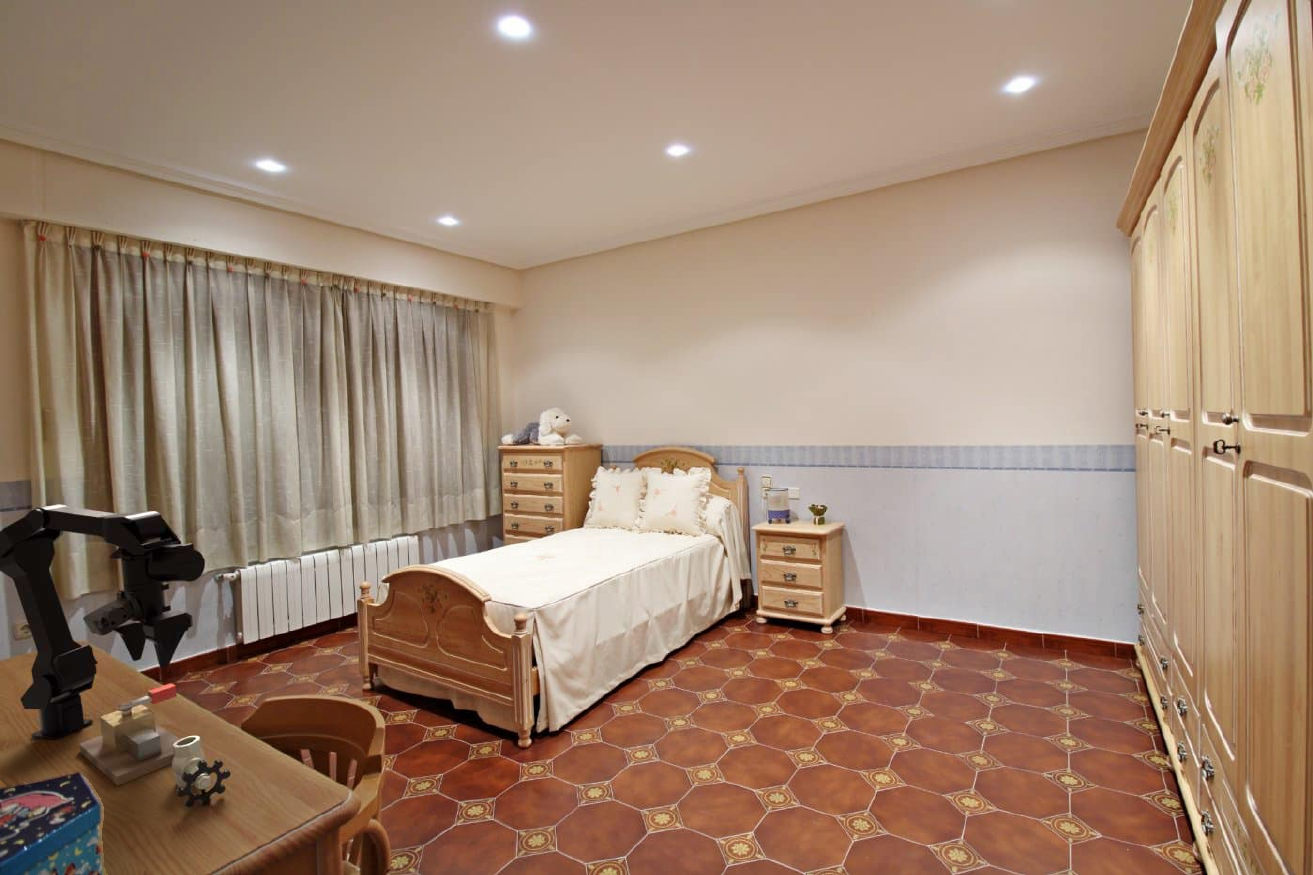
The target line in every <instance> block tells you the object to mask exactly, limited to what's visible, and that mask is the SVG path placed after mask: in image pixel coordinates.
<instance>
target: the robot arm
mask: <svg viewBox="0 0 1313 875" xmlns="http://www.w3.org/2000/svg"><path fill="white" fill-rule="evenodd" d="M64 532H67V533H74V534H81V535H87V536H95V537H99V538H102V539H103V540H104V542H105V543H106V544H108V545H112V546H114V547H117V549H116V550H115V551H114V552H112V553H111V554H110V555H109V558H110V559H111V560H120V563H121V576H122V587H123V588H120V589H117V590H118V591H117V592H116V599H115V600H113V601H111V602H108V603H106V604H105V605H102V606H100V607H98V608H97V609H95V610H93V611H92V612H90V613H88V614H86V615H85V616H83V617H82V620H83V621H84V623H85V624H86V626H87V628H88V629H89V631H90V633H91V634H96V635H99V636H106V635H108V634H110V633H112V632H114V633H116V634H118V635H120V637H121V639H122V642H123V644H124V645H125V648H126V649H127V652H128V653H129V655H130V658H131V659H132V661H134V662H136V661H140V660H141V659H142V656H143V652H144V649H145V644H146V642H147V640H148V641H150V642H151V643H153V646H154V650H155V653H156V658H157V662H158V665H159V668H160V669H161V670H163V669H166V668H168V667H169V666H170V663H171V662H172V660H173V658H174V657H173V656H174V655H175V652H176V651H177V648H178V646H179V644H180V643H181V640H182V639H183V637H184V635H185V633H186V632H187V631H189V629H190V628H192V627H193V626H194V623H193V622H194V621H193V615H192V614H190V613H189V612H187V611H180V610H176V609H175V610H173V611H172V608H171V607H172V606H171V604H167V603H166V599H165V598H166V597H165V596H166V595H165V590H170V584H169V583H171V582H173V583H177V582H179V583H187V582H188V583H189V582H191V583H192V582H194V581H196V580H198V579H199V578H200V577H201V576H202V575H203V573H204V571H205V568H206V560H205V558H204V556H203V555H202V553H201V552H200V551H198V550H196V549H195V547H194V546H195V545H194V543H191V542H190V543H183V544H182V541H181V539H180V538H179V537H178V535H177V534H176V533H175V531H174V530H173V529H172V528H171V527H170V525H169V524H168V523H167V522H166V520H165V519H164V518H163V517H162V514H161V513H160V512H158V511H154V510H148V511H147V510H145V511H133V512H125V513H124V512H123V513H115V512H108V511H102V510H101V511H99V510H94V509H87V508H79V507H73V506H72V507H71V506H68V505H65V504H60V503H59V504H58V503H57V504H51V505H45V506H40V507H39V506H38V507H35V508H33V509H32V510H30V511H28V513H26V515H25V516H24V517H22V518H20V519H18V520H16V521H15V522H13V523H11V524H9V525H8V526H6V527H4V528H2V529H1V530H0V572H2V574H4V575H6V576H7V577H9V578H10V579H12V581H13V583H14V586H15V589H16V592H17V595H18V598H19V601H20V603H21V607H22V609H23V613H24V617H25V619H26V621H27V624H28V627H29V630H30V633H31V636H32V639H33V642H34V645H35V647H36V652H37V654H36V656H35V659H34V662H33V664H32V667H31V670H30V671H31V678H32V683H31V685H30V686H29V687H28V688H27V690H26V691H25V692H24V693H23V695H22V696H21V698H20V702H21V704H22V706H23V709H24V710H38V716H39V717H38V718H39V726H40V730H38V731H36V732H33V733H32V734H31V735H30V737H31V738H34V739H43V740H44V739H46V740H57V739H60V738H63V737H64V736H66V735H70V734H72V733H73V732H75V731H78V730H80V729H82V728H84V727H86V726H88V725H91V724H93V723H94V720H93V719H89V718H84V717H85V716H84V710H83V709H84V708H83V702H82V696H81V693H83V692H85V691H88V690H91V689H92V688H93V684H94V681H95V676H96V674H97V671H98V670H97V664H98V661H97V659H96V658H95V656H94V651H93V647H92V646H91V645H90V644H86V645H82V644H80V643H78V642H77V641H76V640H74V639H73V636H72V633H71V629H70V627H69V626H70V625H69V623H68V621H67V618H66V615H65V612H64V610H63V605H62V602H61V601H60V597H59V594H58V591H57V588H56V585H55V583H54V579H53V576H52V573H51V569H50V568H51V566H52V564H53V561H54V559H55V558H54V557H55V555H56V548H55V542H56V541H58V540H59V539H60V538H61V537H62V536H63V535H64ZM168 582H169V583H168Z"/></svg>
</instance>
